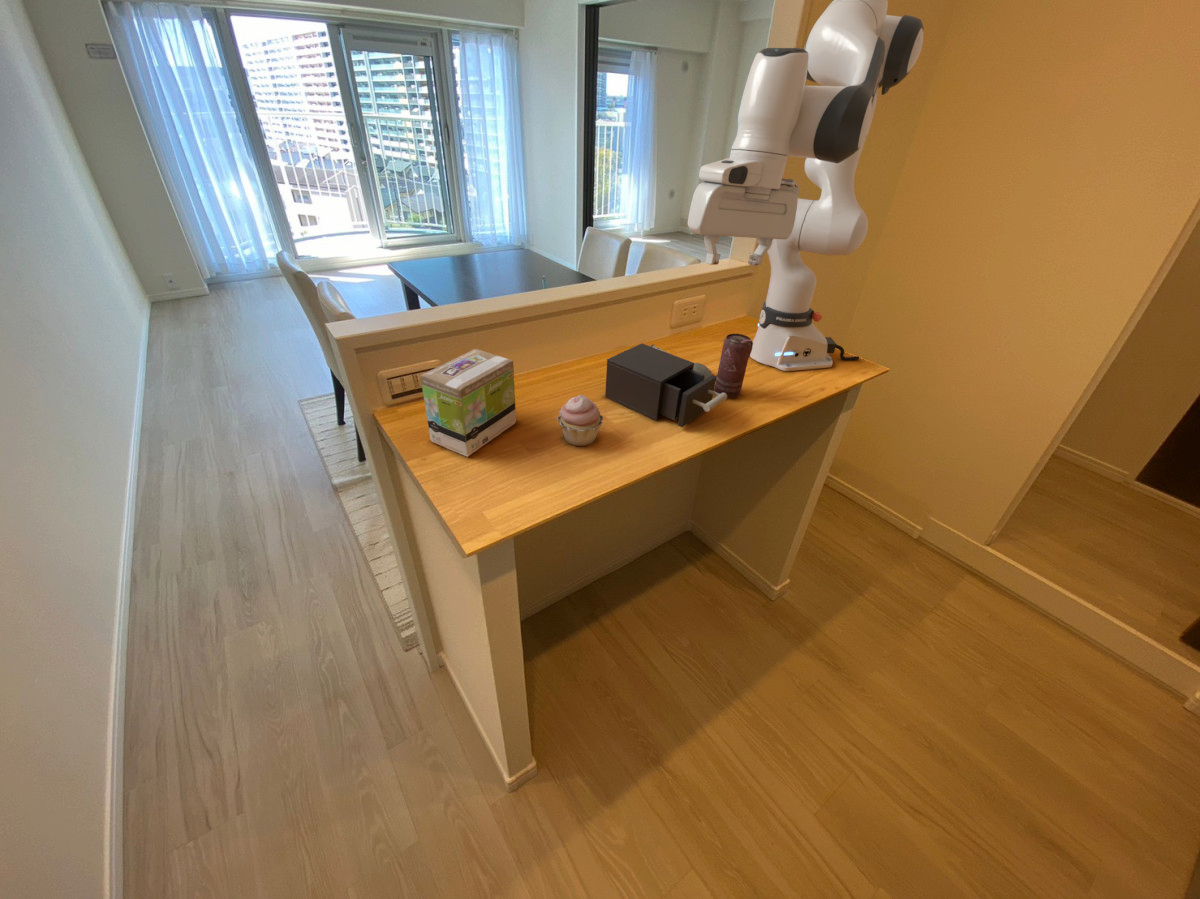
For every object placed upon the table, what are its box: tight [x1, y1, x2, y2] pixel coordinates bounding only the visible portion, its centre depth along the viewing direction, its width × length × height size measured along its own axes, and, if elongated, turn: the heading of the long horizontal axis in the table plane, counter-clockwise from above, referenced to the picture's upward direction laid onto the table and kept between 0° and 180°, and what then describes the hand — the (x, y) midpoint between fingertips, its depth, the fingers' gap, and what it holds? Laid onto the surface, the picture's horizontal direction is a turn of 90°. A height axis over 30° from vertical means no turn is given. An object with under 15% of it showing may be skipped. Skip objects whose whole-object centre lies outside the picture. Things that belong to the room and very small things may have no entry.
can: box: [714, 333, 753, 400], centre depth 113 cm, size 6×6×14 cm
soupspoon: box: [649, 344, 713, 380], centre depth 128 cm, size 22×3×7 cm
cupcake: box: [556, 394, 604, 447], centre depth 96 cm, size 9×9×10 cm
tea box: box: [420, 348, 517, 458], centre depth 95 cm, size 15×10×15 cm, turn 151°
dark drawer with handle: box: [659, 369, 728, 428], centre depth 106 cm, size 18×11×8 cm, turn 49°
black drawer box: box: [604, 343, 695, 422], centre depth 111 cm, size 15×13×10 cm
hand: (733, 264), depth 85 cm, fingers open, 8 cm apart
